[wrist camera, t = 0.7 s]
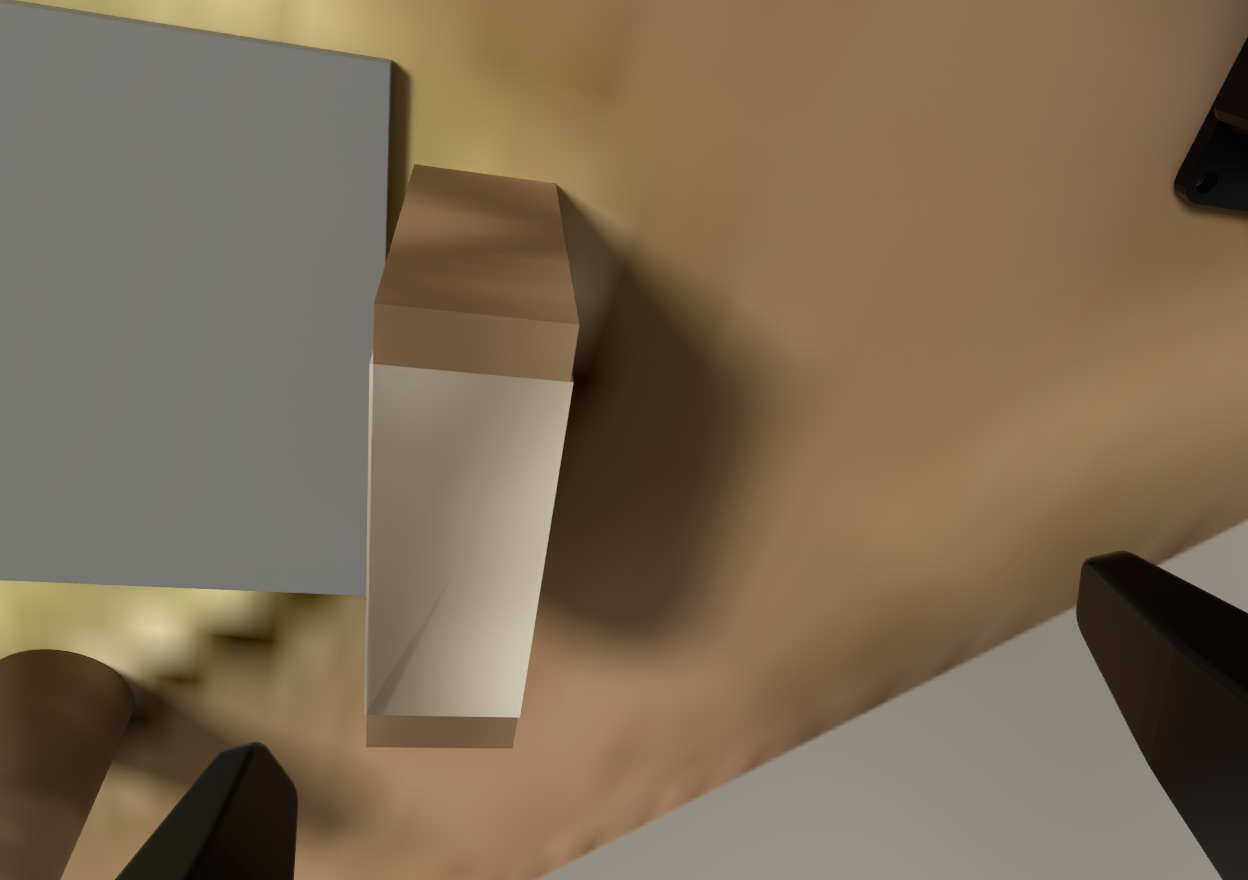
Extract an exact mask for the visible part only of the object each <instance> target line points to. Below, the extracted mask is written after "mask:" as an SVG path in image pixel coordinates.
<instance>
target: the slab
mask: <svg viewBox="0 0 1248 880" xmlns="http://www.w3.org/2000/svg"><path fill="white" fill-rule="evenodd" d="M578 331H579V319H578V313H577V307H576V301H575V295H574V289H573V283H572V277H571V271H570V266H569V260H568V254H567V248H566V242H565V236H564V230H563V224H562V218H561V212H560V206H559V200H558V194H557V188H556V184H554V183H547V182H540V181H532V180H525V179H517V178H510V177H503V176H495V175H488V174H481V173H473V172H466V171H459V170H451V169H444V168H437V167H429V166H422V165H415V164H414V167H413V171H412V174H411V178H410V181H409V185H408V188H407V192H406V195H405V198H404V202H403V205H402V209H401V212H400V216H399V219H398V222H397V226H396V229H395V233H394V236H393V240H392V243H391V247H390V250H389V253H388V257H387V260H386V264H385V267H384V271H383V274H382V277H381V281H380V284H379V288H378V291H377V295H376V298H375V302H374V331H373V352H372V356H371V360H370V364H369V432H368V500H367V569H366V637H365V705H364V715H367V741H366V747H416V748H513V742H514V736H515V729H516V723H517V717H519V718H520V713H521V707H522V701H523V694H524V688H525V682H526V676H527V670H528V663H529V657H530V651H531V645H532V638H533V632H534V626H535V620H536V613H537V607H538V601H539V595H540V588H541V582H542V576H543V570H544V564H545V557H546V551H547V545H548V539H549V532H550V526H551V520H552V514H553V507H554V501H555V495H556V489H557V483H558V476H559V470H560V464H561V458H562V451H563V445H564V439H565V433H566V426H567V420H568V414H569V408H570V402H571V395H572V389H573V383H574V382H573V375H572V369H573V363H574V356H575V350H576V344H577V337H578Z"/></svg>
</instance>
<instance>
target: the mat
mask: <svg viewBox="0 0 1248 880" xmlns="http://www.w3.org/2000/svg"><path fill="white" fill-rule="evenodd" d="M391 90H392V60H389V59H382V58H376V57H370V56H363V55H357V54H351V53H344V52H338V51H332V50H325V49H319V48H313V47H306V46H300V45H294V44H287V43H281V42H275V41H268V40H262V39H256V38H249V37H243V36H236V35H230V34H224V33H217V32H211V31H205V30H198V29H192V28H186V27H179V26H173V25H167V24H160V23H154V22H148V21H141V20H135V19H129V18H122V17H116V16H110V15H103V14H97V13H91V12H84V11H78V10H72V9H65V8H59V7H53V6H46V5H40V4H34V3H27V2H21V1H15V0H0V580H10V581H33V582H57V583H80V584H104V585H127V586H151V587H174V588H198V589H221V590H245V591H268V592H292V593H315V594H338V595H362V596H366V569H367V500H368V432H369V364H370V360H371V356H372V352H373V331H374V302H375V298H376V295H377V291H378V288H379V284H380V281H381V277H382V274H383V271H384V267H385V264H386V260H387V248H388V208H389V169H390V129H391Z"/></svg>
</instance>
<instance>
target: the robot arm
mask: <svg viewBox="0 0 1248 880" xmlns="http://www.w3.org/2000/svg"><path fill="white" fill-rule="evenodd" d="M1205 173H1206V177H1205V179H1204V180H1203V182H1202V183H1201V184H1200V185H1198V186H1197V187H1196V184H1197V181H1198V179H1199V178H1200V177H1201V176H1202V175H1203V174H1205ZM1174 186H1175V191H1176V193H1177V194H1178V196H1180V197H1182V198H1185V199H1187V200H1189V201H1191V202H1193V203H1195V204H1202V205H1208V206H1215V207H1221V208H1228V209H1234V210H1241V211H1247V212H1248V37H1247V39H1246V41H1245V43H1244V45H1243V47H1242V49H1241V51H1240V53H1239V55H1238V57H1237V59H1236V61H1235V63H1234V64H1233V66H1232V68H1231V70H1230V72H1229V74H1228V76H1227V78H1226V80H1225V82H1224V84H1223V86H1222V88H1221V90H1220V92H1219V94H1218V96H1217V98H1216V100H1215V101H1214V103H1213V105H1212V107H1211V109H1210V111H1209V113H1208V115H1207V117H1206V119H1205V121H1204V123H1203V125H1202V127H1201V129H1200V131H1199V133H1198V135H1197V136H1196V138H1195V140H1194V142H1193V144H1192V146H1191V148H1190V150H1189V152H1188V154H1187V156H1186V158H1185V160H1184V162H1183V164H1182V166H1181V168H1180V170H1179V172H1178V173H1177V176H1176V179H1175V182H1174ZM1076 615H1077V622H1078V626H1079V628H1080V631H1081V634H1082V636H1083V638H1084V640H1085V642H1086V644H1087V646H1088V648H1089V650H1090V651H1091V654H1092V655H1093V657H1094V659H1095V661H1096V663H1097V665H1098V667H1099V669H1100V671H1101V673H1102V675H1103V677H1104V679H1105V681H1106V683H1107V685H1108V687H1109V689H1110V691H1111V693H1112V694H1113V697H1114V698H1115V701H1116V703H1117V705H1118V707H1119V709H1120V711H1121V713H1122V715H1123V717H1124V719H1125V721H1126V723H1127V725H1128V727H1129V729H1130V731H1131V733H1132V734H1133V736H1134V738H1135V740H1136V742H1137V744H1138V746H1139V748H1140V750H1141V751H1142V753H1143V755H1144V757H1145V759H1146V761H1147V763H1148V765H1149V766H1150V768H1151V769H1152V771H1153V773H1154V774H1155V776H1156V778H1157V779H1158V781H1159V782H1160V784H1161V786H1162V787H1163V789H1164V790H1165V792H1166V794H1167V795H1168V796H1169V798H1170V800H1171V801H1172V803H1173V804H1174V806H1175V807H1176V809H1177V810H1178V812H1179V813H1180V815H1181V817H1182V818H1183V820H1184V821H1185V823H1186V824H1187V826H1188V827H1189V829H1190V830H1191V832H1192V833H1193V835H1194V837H1195V838H1196V840H1197V841H1198V843H1199V844H1200V846H1201V847H1202V849H1203V850H1204V852H1205V853H1206V855H1207V857H1208V858H1209V860H1210V861H1211V863H1212V864H1213V866H1214V867H1215V869H1216V870H1217V872H1218V873H1219V875H1220V877H1221V878H1222V880H1248V613H1246V612H1244V611H1242V610H1240V609H1239V608H1237V607H1235V606H1233V605H1231V604H1229V603H1227V602H1225V601H1223V600H1221V599H1219V598H1217V597H1216V596H1214V595H1212V594H1209V593H1208V592H1206V591H1204V590H1202V589H1200V588H1198V587H1196V586H1194V585H1192V584H1191V583H1188V582H1187V581H1185V580H1183V579H1181V578H1179V577H1177V576H1175V575H1173V574H1171V573H1169V572H1167V571H1165V570H1163V569H1161V568H1160V567H1158V566H1156V565H1154V564H1152V563H1150V562H1148V561H1146V560H1144V559H1142V558H1140V557H1139V556H1137V555H1135V554H1132V553H1129V552H1126V551H1117V552H1112V553H1108V554H1103V555H1099V556H1094V557H1090V558H1088V559H1086V561H1085V562H1084V563H1083V565H1082V569H1081V576H1080V584H1079V592H1078V600H1077V608H1076ZM297 815H298V796H297V791H296V788H295V785H294V783H293V781H292V780H291V778H290V777H289V776H288V774H287V773H286V772H285V770H284V769H283V768H282V766H281V765H280V764H279V762H278V761H277V760H276V758H275V757H274V755H273V754H272V753H271V751H270V750H269V749H268V748H267V747H266V745H264V744H262V743H260V742H253V743H248V744H244V745H239V746H235V747H230V748H227V749H225V750H223V751H222V752H220V753H219V754H218V755H217V756H216V757H215V758H214V760H213V761H212V762H211V763H210V765H209V766H208V767H207V768H206V769H205V771H204V772H203V773H202V774H201V775H200V777H199V778H198V779H197V780H196V782H195V783H194V784H193V785H192V786H191V788H190V789H189V790H188V791H187V792H186V794H185V795H184V796H183V797H182V799H181V800H180V801H179V802H178V803H177V805H176V806H175V807H174V808H173V810H172V811H171V812H170V813H169V814H168V816H167V817H166V818H165V819H164V820H163V822H162V823H161V824H160V825H159V827H158V828H157V829H156V830H155V831H154V833H153V834H152V835H151V836H150V837H149V839H148V840H147V841H146V842H145V844H144V845H143V846H142V847H141V848H140V850H139V851H138V852H137V853H136V855H135V856H134V857H133V858H132V859H131V861H130V862H129V863H128V864H127V865H126V867H125V868H124V869H123V870H122V872H121V873H120V874H119V875H118V876H117V878H116V879H115V880H294V866H295V849H296V832H297Z"/></svg>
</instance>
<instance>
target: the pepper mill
mask: <svg viewBox="0 0 1248 880" xmlns="http://www.w3.org/2000/svg"><path fill="white" fill-rule="evenodd" d="M133 711H134V697H133V694H132V692H131V690H130V688H129V686H128V685H127V683H126V682H125V681H124V680H123V679H122V678H121V677H120V676H119V675H118V674H117V673H116V672H114V671H113V670H112V669H110V668H109V667H107V666H105V665H104V664H102V663H100V662H98V661H96V660H93V659H91V658H88V657H85V656H82V655H79V654H75V653H70V652H65V651H58V650H30V651H24V652H19V653H15V654H12V655H9V656H7V657H5V658H3V659H1V660H0V880H60V879H61V877H62V875H63V872H64V870H65V868H66V866H67V863H68V861H69V859H70V856H71V854H72V852H73V849H74V847H75V845H76V843H77V840H78V838H79V836H80V833H81V831H82V829H83V826H84V824H85V822H86V820H87V817H88V815H89V813H90V810H91V808H92V806H93V804H94V801H95V799H96V797H97V794H98V792H99V790H100V787H101V785H102V783H103V781H104V778H105V776H106V774H107V771H108V769H109V767H110V765H111V762H112V760H113V758H114V755H115V753H116V751H117V748H118V746H119V744H120V742H121V739H122V737H123V735H124V732H125V730H126V728H127V725H128V723H129V721H130V719H131V716H132V714H133Z"/></svg>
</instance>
